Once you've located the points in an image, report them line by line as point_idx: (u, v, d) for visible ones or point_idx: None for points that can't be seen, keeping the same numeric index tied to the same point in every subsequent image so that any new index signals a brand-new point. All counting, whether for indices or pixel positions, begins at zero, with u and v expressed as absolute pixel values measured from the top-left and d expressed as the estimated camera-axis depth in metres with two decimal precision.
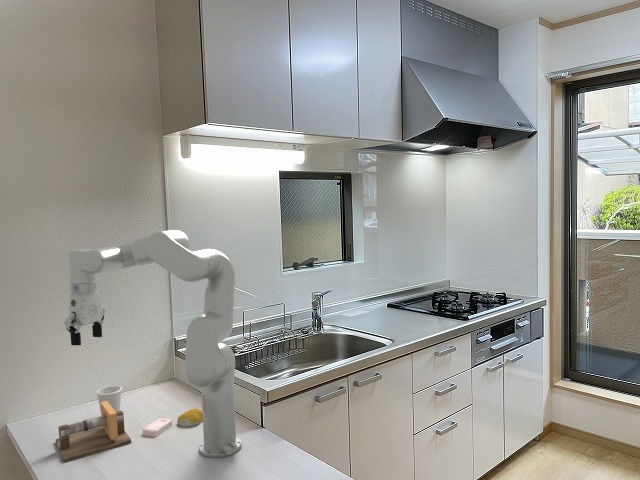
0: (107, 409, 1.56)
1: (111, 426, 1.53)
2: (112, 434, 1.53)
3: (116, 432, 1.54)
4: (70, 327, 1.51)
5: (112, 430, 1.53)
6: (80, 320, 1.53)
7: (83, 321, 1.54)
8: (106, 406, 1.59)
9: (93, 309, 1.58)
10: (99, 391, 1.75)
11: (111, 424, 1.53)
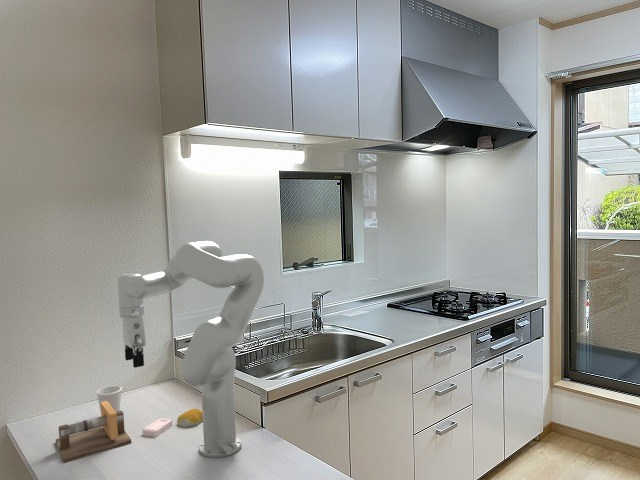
0: (107, 409, 1.56)
1: (111, 426, 1.53)
2: (112, 434, 1.53)
3: (116, 432, 1.54)
4: (142, 348, 1.56)
5: (112, 430, 1.53)
6: (144, 341, 1.59)
7: None
8: (106, 406, 1.59)
9: None
10: (99, 391, 1.75)
11: (111, 424, 1.53)
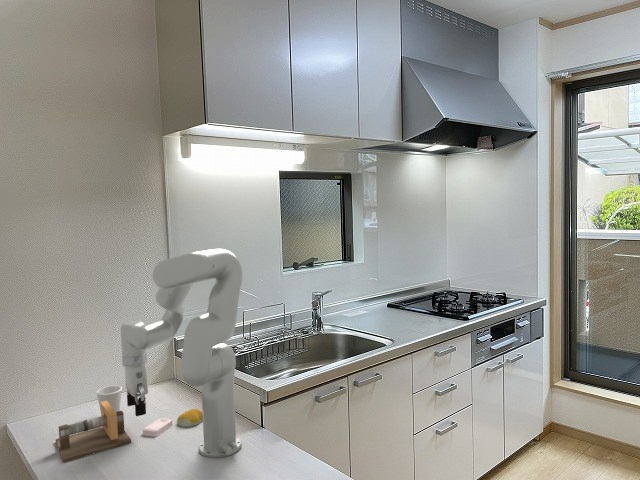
0: (107, 409, 1.56)
1: (111, 426, 1.53)
2: (112, 434, 1.53)
3: (116, 432, 1.54)
4: (144, 398, 1.58)
5: (112, 430, 1.53)
6: (147, 389, 1.60)
7: (147, 390, 1.61)
8: (106, 406, 1.59)
9: None
10: (99, 391, 1.75)
11: (111, 424, 1.53)
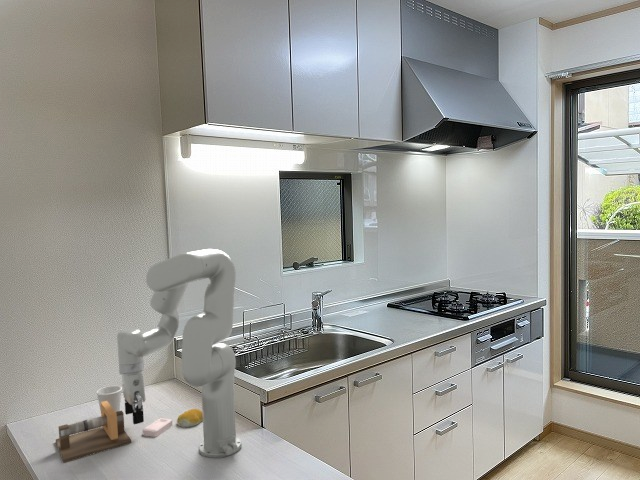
0: (107, 409, 1.56)
1: (111, 426, 1.53)
2: (112, 434, 1.53)
3: (116, 432, 1.54)
4: (142, 406, 1.57)
5: (112, 430, 1.53)
6: (144, 397, 1.60)
7: None
8: (106, 406, 1.59)
9: None
10: (99, 391, 1.75)
11: (111, 424, 1.53)
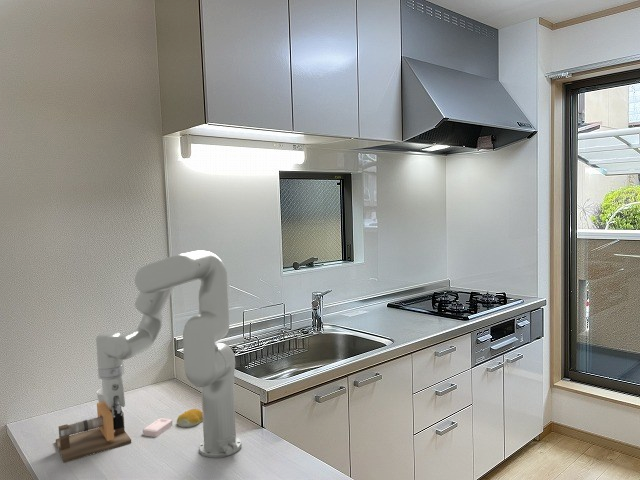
0: (103, 410, 1.56)
1: (107, 427, 1.52)
2: (108, 435, 1.52)
3: (112, 433, 1.53)
4: (121, 411, 1.53)
5: (108, 431, 1.52)
6: (123, 402, 1.56)
7: (124, 402, 1.57)
8: (102, 407, 1.58)
9: None
10: (99, 391, 1.75)
11: (107, 425, 1.52)
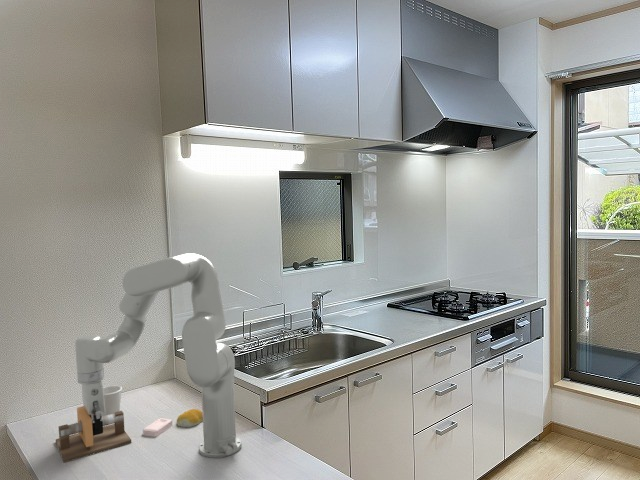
0: (83, 415, 1.52)
1: (86, 433, 1.49)
2: (87, 441, 1.49)
3: (91, 439, 1.49)
4: (100, 416, 1.50)
5: (87, 437, 1.49)
6: (103, 407, 1.53)
7: (104, 407, 1.54)
8: (82, 412, 1.55)
9: None
10: None
11: (86, 431, 1.49)
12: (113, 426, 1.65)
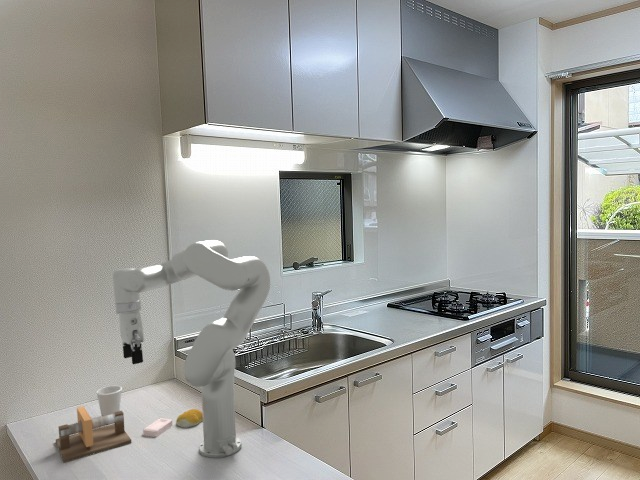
0: (83, 415, 1.52)
1: (86, 433, 1.49)
2: (87, 441, 1.49)
3: (91, 439, 1.49)
4: (140, 344, 1.52)
5: (87, 437, 1.49)
6: (142, 336, 1.55)
7: (143, 337, 1.56)
8: (82, 412, 1.55)
9: None
10: (99, 391, 1.75)
11: (86, 431, 1.49)
12: (113, 426, 1.65)
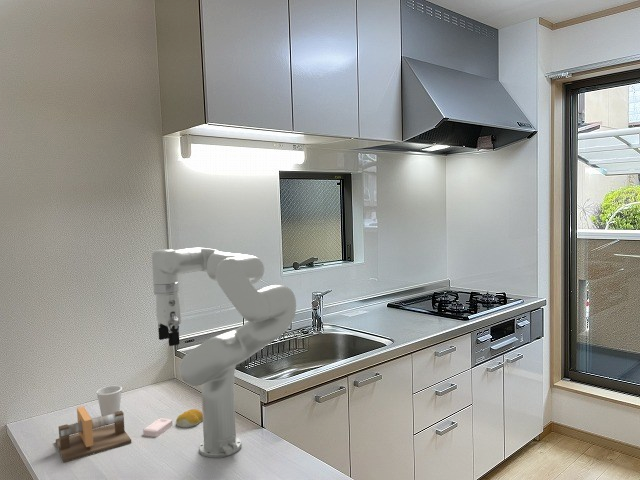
0: (83, 415, 1.52)
1: (86, 433, 1.49)
2: (87, 441, 1.49)
3: (91, 439, 1.49)
4: (178, 326, 1.51)
5: (87, 437, 1.49)
6: (180, 319, 1.54)
7: (180, 319, 1.55)
8: (82, 412, 1.55)
9: None
10: (99, 391, 1.75)
11: (86, 431, 1.49)
12: (113, 426, 1.65)
